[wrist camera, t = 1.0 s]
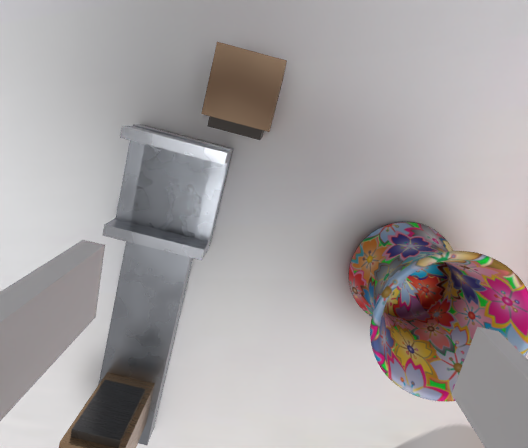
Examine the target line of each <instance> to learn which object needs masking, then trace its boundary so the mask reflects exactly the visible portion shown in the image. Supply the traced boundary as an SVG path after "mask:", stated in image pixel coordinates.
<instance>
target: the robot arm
mask: <svg viewBox="0 0 528 448" xmlns="http://www.w3.org/2000/svg"><path fill="white" fill-rule="evenodd" d="M104 249H105V245H103V244H99V243H94V242H90V241H85V240H82V241H80V242H79V243H77V244H76V245H74V246H72V247H71V248H69V249H68V250H66V251H65V252H63V253H61V254H60V255H58V256H57V257H55V258H53V259H52V260H50V261H49V262H47V263H45V264H44V265H42V266H41V267H39V268H37V269H36V270H34V271H33V272H31V273H30V274H28V275H26V276H25V277H23V278H22V279H20V280H18V281H17V282H15V283H14V284H12V285H10V286H9V287H7V288H6V289H4V290H3V291H1V292H0V421H1V420H2V419H3V418H4V417H5V415H6V414H7V413H8V412H9V411H10V410H11V409H12V408H13V407H14V406H15V405H16V403H17V402H18V401H19V400H20V399H21V398H22V397H23V396H24V395H25V394H26V392H27V391H28V390H29V389H30V388H31V387H32V386H33V385H34V384H35V383H36V382H37V380H38V379H39V378H40V377H41V376H42V375H43V374H44V373H45V372H46V371H47V370H48V368H49V367H50V366H51V365H52V364H53V363H54V362H55V361H56V360H57V359H58V357H59V356H60V355H61V354H62V353H63V352H64V351H65V350H66V349H67V348H68V347H69V345H70V344H71V343H72V342H73V341H74V340H75V339H76V338H77V337H78V336H79V335H80V333H81V332H82V331H83V330H84V329H85V328H86V327H87V326H88V325H89V324H90V322H91V321H92V320H93V319H94V318H95V316H96V309H97V301H98V294H99V286H100V279H101V271H102V264H103V256H104ZM452 396H453V397H454V399H455V400H456V402H457V404H458V405H459V407H460V408H461V410H462V412H463V413H464V415H465V416H466V418H467V420H468V421H469V423H470V424H471V426H472V428H473V429H474V431H475V432H476V434H477V435H478V437H479V439H480V440H481V442H482V443H483V445H484V447H485V448H528V359H526V358H525V357H524V356H523V355H522V354H521V353H520V352H519V351H518V350H517V349H516V348H515V347H514V346H513V345H512V344H511V343H510V342H509V341H508V340H507V339H506V338H505V337H504V336H503V335H502V334H501V333H500V332H499V331H495V330H490V329H485V328H481V327H477V329H476V332H475V334H474V337H473V339H472V342H471V345H470V347H469V350H468V352H467V355H466V358H465V360H464V363H463V365H462V368H461V371H460V373H459V376H458V379H457V381H456V384H455V386H454V389H453V392H452Z"/></svg>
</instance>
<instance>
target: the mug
mask: <svg viewBox="0 0 528 448" xmlns="http://www.w3.org/2000/svg"><path fill="white" fill-rule="evenodd" d="M349 284H350V289H351V292H352V294H353V297H354V299H355V300H356V302H357V303H358V305H359V306H360V307H361V308H362V309H363V310H364V311H365V312H366V313H367V314H369V315H370V316H372V319H371V326H370V337H371V344H372V349H373V352H374V355H375V357H376V360H377V362H378V364H379V365H380V367H381V369H382V370H383V372H384V373H385V374H386V375H387V376H388V378H389V379H390V380H391V381H393V382H394V383H395V384H396V385H397V386H399V387H400V388H402V389H403V390H405V391H407V392H409V393H411V394H413V395H415V396H418V397H421V398H424V399H428V400H434V401H456V400H455V399H454V397H453V396H452V392H453V389H454V386H455V384H456V381H457V379H458V376H459V373H460V371H461V368H462V365H463V363H464V360H465V358H466V355H467V352H468V350H469V347H470V345H471V342H472V339H473V337H474V334H475V332H476V329H477V327H481V328H485V329H490V330H495V331H499V332H500V333H501V334H502V335H503V336H504V337H505V338H506V339H507V340H508V341H509V342H510V343H511V344H512V345H513V346H514V347H515V348H516V349H517V350H518V351H519V352H520V353H521V354H522V355H523V356H524V357H525V356H526V354H527V352H528V291H527V289H526V287H525V285H524V284H523V282H522V281H521V280H520V278H519V277H518V276H517V275H516V274H515V273H514V272H513V271H512V270H511V269H509V268H508V267H507V266H506V265H504V264H502V263H501V262H499V261H497V260H495V259H493V258H491V257H488V256H486V255H483V254H479V253H474V252H467V251H453V250H452V248H451V246H450V245H449V243H448V242H447V241H446V239H445V238H444V237H443V236H442V235H441V234H439V233H438V232H437V231H435V230H434V229H432V228H430V227H428V226H425V225H423V224H419V223H413V222H399V223H393V224H389V225H386V226H384V227H381V228H379V229H377V230H376V231H374V232H373V233H371V234H370V235H369V236H367V237H366V238H365V239H364V240H363V241H362V242H361V244H360V245H359V246H358V248H357V249H356V251H355V253H354V255H353V257H352V260H351V263H350V268H349Z"/></svg>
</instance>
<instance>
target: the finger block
mask: <svg viewBox="0 0 528 448" xmlns="http://www.w3.org/2000/svg"><path fill="white" fill-rule="evenodd" d="M286 62H287V61H286V60H282V59H279V58H275V57H271V56H268V55H264V54H260V53H257V52H253V51H249V50H246V49H242V48H238V47H235V46H231V45H227V44H223V43H220V42H217V45H216V49H215V54H214V59H213V63H212V68H211V72H210V77H209V81H208V86H207V91H206V95H205V100H204V104H203V109H202V114H204V115H208V116H210V117H209V121H208V126H209V127H213V128H217V129H220V130H224V131H228V132H232V133H236V134H239V135H243V136H247V137H251V138H254V139H258V140H260V139H261V138H262V136H263V132H264V131H268V132H269V131H270V128H271V124H272V120H273V116H274V112H275V108H276V104H277V101H278V97H279V93H280V89H281V85H282V81H283V77H284V72H285V67H286Z"/></svg>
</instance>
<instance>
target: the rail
mask: <svg viewBox="0 0 528 448" xmlns="http://www.w3.org/2000/svg"><path fill="white" fill-rule="evenodd" d="M120 138H124V139H128V140H130V144H129V149H128V155H127V160H126V165H125V171H124V176H123V182H122V187H121V193H120V198H119V203H118V209H117V214H116V218H115V219H114V220H112V221H110V222H108V223H107V224H105V225H104V230H103V236H107V237H111V238H115V239H119V240H123V241H126V246H125V251H124V256H123V261H122V266H121V272H120V277H119V282H118V287H117V292H116V298H115V303H114V308H113V313H112V318H111V324H110V329H109V334H108V339H107V344H106V350H105V355H104V360H103V365H102V370H101V376H100V381H99V385H98V387H97V388H96V390H95V391H94V393H93V394H92V395H91V397H90V398H89V400H88V401H87V403H86V404H85V406H84V407H83V409H82V410H81V412H80V413H79V415H78V416H77V418H76V419H75V421H74V422H73V423H72V425H71V426H70V428H69V429H68V431H67V432H66V434H65V435H64V437H63V438H62V440H61V441H60V444H59V448H136V446H137V444H138V443H140V444H144V445H147V444H148V442H149V439H150V437H151V434H152V432H153V429H154V425H155V421H156V416H157V412H158V408H159V403H160V399H161V395H162V390H163V386H164V382H165V377H166V373H167V369H168V364H169V360H170V356H171V351H172V347H173V343H174V338H175V334H176V330H177V325H178V321H179V317H180V312H181V308H182V304H183V299H184V295H185V291H186V286H187V282H188V278H189V273H190V269H191V265H192V260H193V258H195V259H199V260H202V259H203V257H204V255H205V253H206V252H207V250H208V248H209V246H210V243H211V239H212V235H213V230H214V226H215V222H216V218H217V214H218V210H219V205H220V201H221V197H222V193H223V189H224V184H225V180H226V176H227V172H228V168H229V163H230V159H231V155H232V151H233V149H232V148H228V147H224V146H220V145H216V144H213V143H209V142H205V141H201V140H197V139H194V138H190V137H186V136H182V135H178V134H175V133H171V132H167V131H163V130H159V129H155V128H152V127H148V126H144V125H133V126H122V130H121V135H120Z"/></svg>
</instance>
